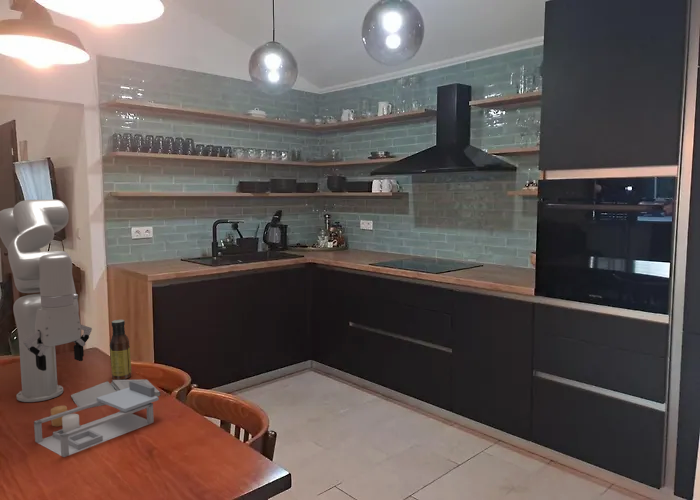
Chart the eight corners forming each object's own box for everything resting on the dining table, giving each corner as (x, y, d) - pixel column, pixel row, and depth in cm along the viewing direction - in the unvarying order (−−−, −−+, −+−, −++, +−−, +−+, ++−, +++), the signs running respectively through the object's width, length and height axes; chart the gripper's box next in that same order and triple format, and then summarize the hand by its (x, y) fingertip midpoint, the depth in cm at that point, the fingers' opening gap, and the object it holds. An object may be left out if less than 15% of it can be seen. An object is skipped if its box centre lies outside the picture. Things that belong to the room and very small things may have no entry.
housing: (35, 444, 134) (33, 421, 134) (124, 413, 154) (123, 392, 153) (64, 460, 126) (62, 435, 126) (153, 425, 146) (152, 403, 145)
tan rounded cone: (49, 427, 145) (48, 409, 144) (63, 422, 148) (62, 404, 147) (56, 430, 143) (55, 412, 142) (70, 425, 146) (69, 407, 145)
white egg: (60, 436, 137) (59, 417, 137) (75, 431, 140) (74, 412, 140) (67, 440, 135) (66, 420, 135) (82, 434, 138) (81, 415, 138)
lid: (96, 400, 147) (95, 389, 146) (130, 389, 155) (129, 378, 154) (124, 411, 139) (124, 399, 139) (158, 399, 147) (158, 388, 147)
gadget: (79, 415, 154) (79, 402, 154) (70, 399, 166) (69, 387, 166) (160, 397, 168) (160, 386, 167) (146, 384, 180) (146, 373, 179)
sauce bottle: (121, 373, 188) (118, 317, 186) (135, 375, 186) (133, 319, 184) (106, 379, 182) (104, 321, 180) (121, 382, 180) (119, 323, 178)
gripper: (81, 294, 151) (84, 354, 152) (15, 305, 137) (19, 371, 138) (96, 297, 146) (99, 359, 148) (29, 308, 132) (33, 376, 134)
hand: (60, 364), depth 143 cm, fingers open, 9 cm apart
